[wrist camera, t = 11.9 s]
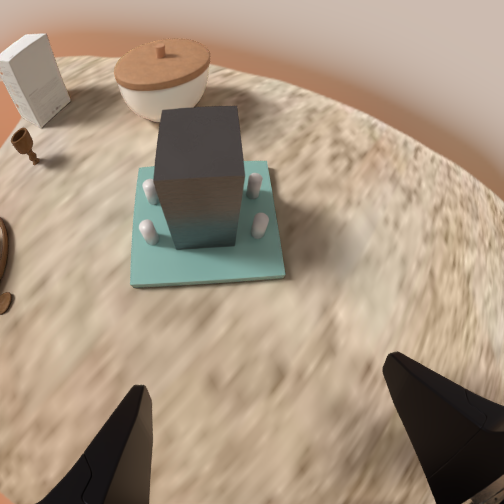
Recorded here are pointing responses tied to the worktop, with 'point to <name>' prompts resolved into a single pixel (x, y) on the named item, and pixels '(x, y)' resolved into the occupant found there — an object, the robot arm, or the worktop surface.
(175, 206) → the plate
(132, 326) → the worktop surface
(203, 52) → the lidded jar
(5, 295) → the place setting
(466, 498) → the robot arm
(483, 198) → the worktop surface
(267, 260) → the pin tray
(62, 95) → the small box
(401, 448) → the worktop surface
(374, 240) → the worktop surface
